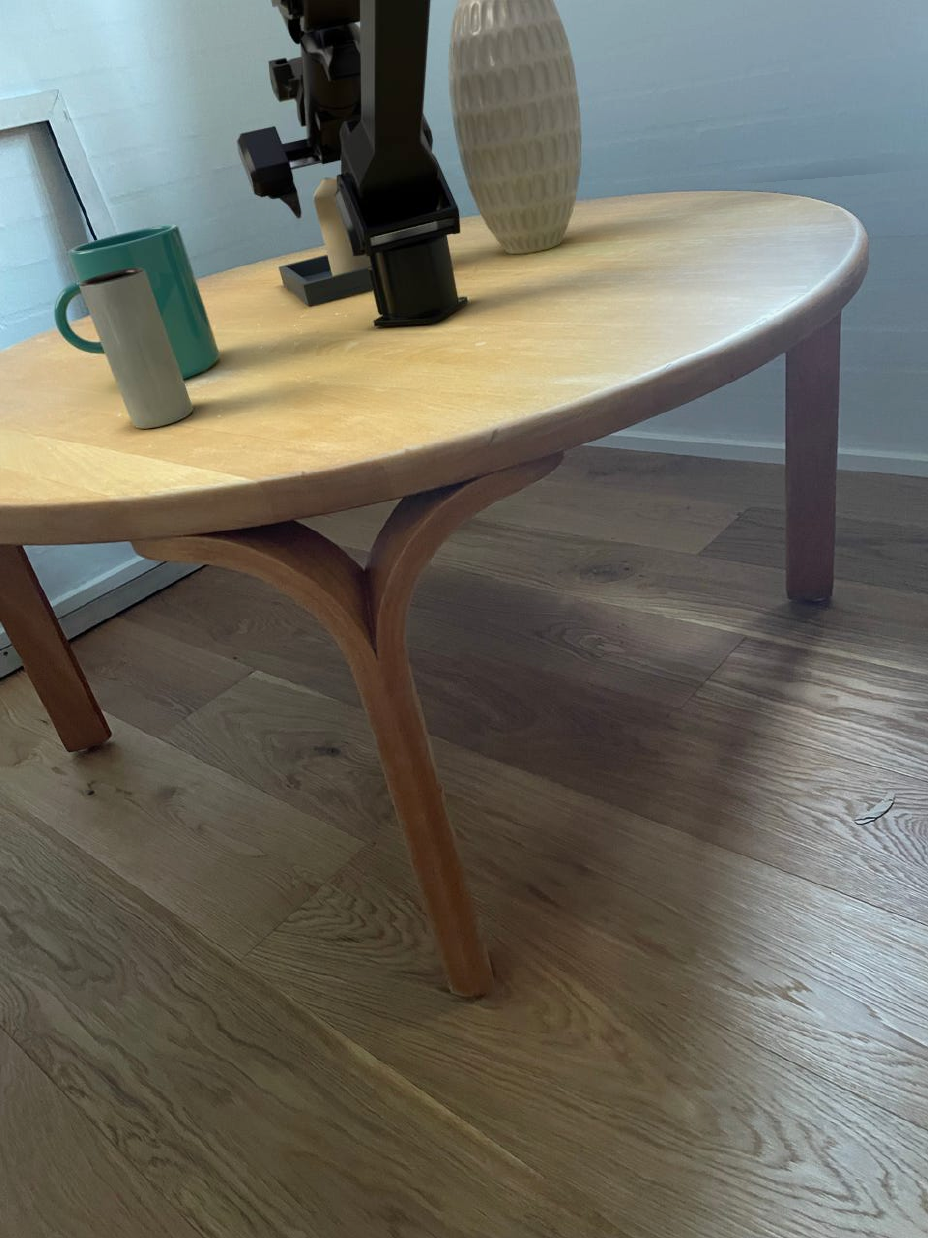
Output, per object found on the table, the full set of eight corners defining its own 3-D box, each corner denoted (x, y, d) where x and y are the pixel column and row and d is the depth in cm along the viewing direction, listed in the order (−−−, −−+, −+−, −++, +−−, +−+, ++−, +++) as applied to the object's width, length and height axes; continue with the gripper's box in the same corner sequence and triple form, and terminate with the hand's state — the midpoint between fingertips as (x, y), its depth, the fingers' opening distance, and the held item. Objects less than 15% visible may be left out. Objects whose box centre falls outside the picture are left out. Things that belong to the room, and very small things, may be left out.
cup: (88, 382, 83) (35, 253, 77) (217, 348, 85) (176, 220, 79) (82, 408, 75) (23, 266, 69) (225, 370, 77) (179, 229, 71)
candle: (354, 280, 98) (330, 179, 93) (323, 280, 102) (298, 183, 97) (391, 266, 101) (370, 168, 96) (360, 267, 105) (338, 172, 100)
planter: (140, 414, 70) (88, 276, 65) (198, 402, 70) (150, 263, 65) (126, 434, 66) (70, 288, 61) (187, 421, 66) (135, 274, 61)
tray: (441, 271, 97) (437, 250, 96) (308, 306, 94) (303, 284, 93) (400, 255, 110) (397, 236, 109) (283, 286, 107) (278, 266, 106)
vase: (598, 246, 93) (564, -99, 78) (475, 269, 94) (419, -65, 80) (586, 226, 104) (554, -80, 89) (476, 247, 105) (426, -51, 91)
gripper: (399, -1, 88) (393, 128, 103) (208, 37, 84) (232, 165, 99) (440, 89, 85) (428, 207, 100) (245, 132, 82) (263, 248, 97)
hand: (338, 204), depth 99 cm, fingers open, 9 cm apart
